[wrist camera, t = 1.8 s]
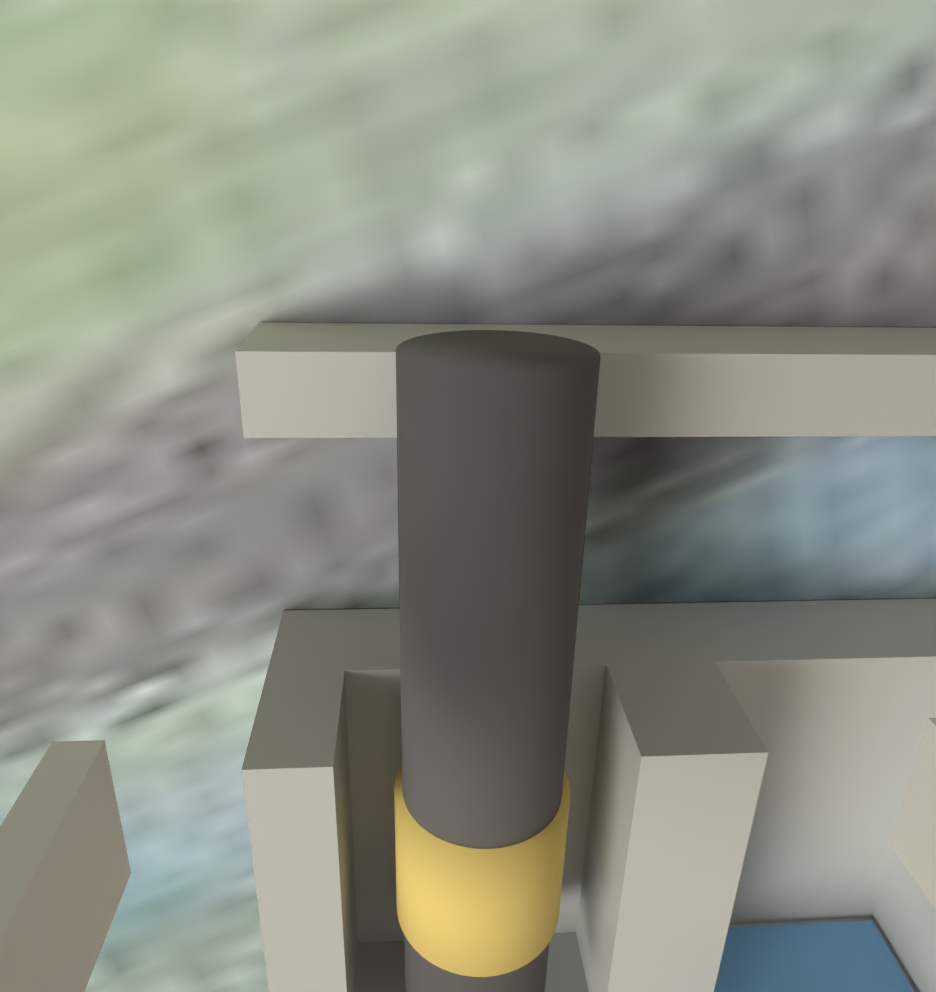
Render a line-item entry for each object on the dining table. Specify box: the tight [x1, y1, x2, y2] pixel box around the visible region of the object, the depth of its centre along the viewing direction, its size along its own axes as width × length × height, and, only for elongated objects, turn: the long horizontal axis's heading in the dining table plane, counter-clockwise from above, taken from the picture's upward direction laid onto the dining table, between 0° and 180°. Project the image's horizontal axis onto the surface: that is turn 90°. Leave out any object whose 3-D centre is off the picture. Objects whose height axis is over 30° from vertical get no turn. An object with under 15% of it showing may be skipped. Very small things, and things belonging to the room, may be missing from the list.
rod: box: [394, 330, 601, 992], centre depth 19 cm, size 18×4×4 cm, turn 179°
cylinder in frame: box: [235, 323, 936, 992], centre depth 21 cm, size 20×22×9 cm
